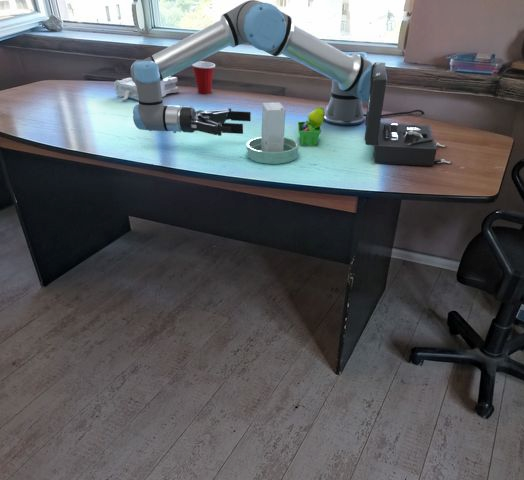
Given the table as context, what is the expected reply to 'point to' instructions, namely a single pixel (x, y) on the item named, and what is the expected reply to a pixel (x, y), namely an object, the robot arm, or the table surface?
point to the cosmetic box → (272, 127)
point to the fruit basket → (311, 127)
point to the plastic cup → (203, 76)
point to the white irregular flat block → (130, 90)
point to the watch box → (395, 131)
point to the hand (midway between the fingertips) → (246, 122)
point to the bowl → (272, 157)
